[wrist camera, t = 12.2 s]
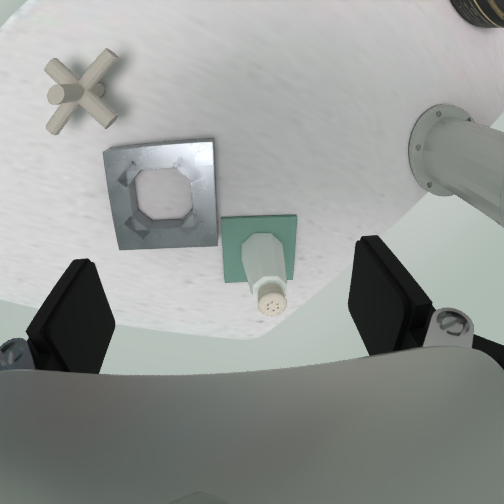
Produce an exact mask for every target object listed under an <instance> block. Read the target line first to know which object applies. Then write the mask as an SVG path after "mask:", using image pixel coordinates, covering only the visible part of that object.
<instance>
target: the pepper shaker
mask: <svg viewBox="0 0 504 504" xmlns="http://www.w3.org/2000/svg"><path fill="white" fill-rule="evenodd" d="M241 259H242V262H243V266H244V269H245V273H246V276H247V279H248V283H249V286H250V290H251V293H252V295H253V297H254V298H256V299H257V300H258V308H259V310H260V312H261V313H263V314H264V315H267V316H275V315H278V314H280V313H282V312H283V311H284V310H285V308H286V306H287V300H286V298H285V296H286V287H287V279H286V270H285V261H284V252H283V244H282V243H281V242H280V241H279V240H278V239H277V238H276V237H275V236H274V235H273V234H272V233H254V234H253V235H251V236H250V237H249V238H248V239H247V240H246V241H245V242H244V243H242V257H241Z"/></svg>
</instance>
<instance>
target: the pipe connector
mask: <svg viewBox="0 0 504 504" xmlns="http://www.w3.org/2000/svg"><path fill="white" fill-rule="evenodd" d="M118 59H119V58H118V56H117V55H116V54H115V53H113V52H112V51H111V50H109V49H107V48H106V49H105V50H104V51H103V52H102V53H101V54H100V55H99V56H98V58H97V59H96V60H95V61H94V62H93V63H92V65H91V66H90V67H89V68H88V69H87V71H86V72H85V73H84V74H83V75H82V77H81V78H80V79H79V78H78V77H77V76H75V75H74V74H73V73H72V72H71V71H70V70H69V69H68V68H67V67H66V66H65V65H64V64H63V63H62V62H60V61H59V60H58V59H57V58H53V59H52V60H51V61H49V62H48V64H47V65H46V67H45V69H44V71H45V72H46V73H47V74H48V75H49V76H50V77H51V78H52V79H53V80H54V81H56V82H57V83H58V84H59V85H54V86H52V87H51V88H50V89H49V91H48V94H47V98H48V101H49V103H50V104H52V105H58V104H60V106H59V107H58V109H57V110H56V111H55V113H54V114H53V116H52V117H51V119H50V120H49V122H48V123H47V125H46V129H47V130H48V131H49V132H50V133H51V134H54V135H58V134H59V133H60V131H61V130H62V128H63V127H64V125H65V124H66V123H67V121H68V120H69V118H70V117H71V116H72V114H73V113H74V112H75V110H76V109H77V108H78V106H79V105H81V106H82V107H83V108H84V109H85V110H86V111H87V112H88V113H89V114H90V115H91V116H92V117H93V118H94V119H95V120H96V121H98V122H99V123H100V124H101V125H102V126H103V127H104V128H105V129H107V128H108V127H109V126H110V125H112V124H113V122H114V121H115V120H116V119H117V117H118V115H117V114H116V113H115V112H114V111H113V110H112V109H111V108H110V107H109V106H108V105H106V104H105V103H104V102H103V101H102V100H101V99H100V97H102V96H103V94H104V93H105V86H104V85H103V84H102V83H98V81H99V80H100V79H101V78H102V77H103V76H104V74H105V73H106V72H107V71H108V70H109V69H110V68H111V66H112V65H113V64H114V63H115V62H116V61H117V60H118Z"/></svg>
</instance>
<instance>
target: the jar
mask: <svg viewBox="0 0 504 504" xmlns="http://www.w3.org/2000/svg"><path fill="white" fill-rule="evenodd" d="M451 2H452V3H453V5H454V7H455V8H456V9H457V11H458V12H459V13H460V14H461V15H462V16H463V17H464V18H465V19H466V20H468V21H469V22H470V23H472V24H474V25H477V26H481V27H485V28H500V27H501V28H504V0H451Z"/></svg>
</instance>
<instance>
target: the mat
mask: <svg viewBox="0 0 504 504" xmlns="http://www.w3.org/2000/svg"><path fill="white" fill-rule="evenodd" d="M221 225H222V244H223V262H224V279H225V283H231V282H248V279H247V276H246V273H245V269H244V266H243V262H242V259H241V257H242V243H244V242H245V241H246V240H247V239H248V238H249V237H250V236H251V235H253V234H254V233H272V234H273V235H274V236H275V237H276V238H277V239H278V240H279V241H280V242H281V243H282V244H283V252H284V261H285V270H286V279H287V280H293V271H294V257H295V242H296V226H297V216H296V215H270V216H238V217H221Z"/></svg>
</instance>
